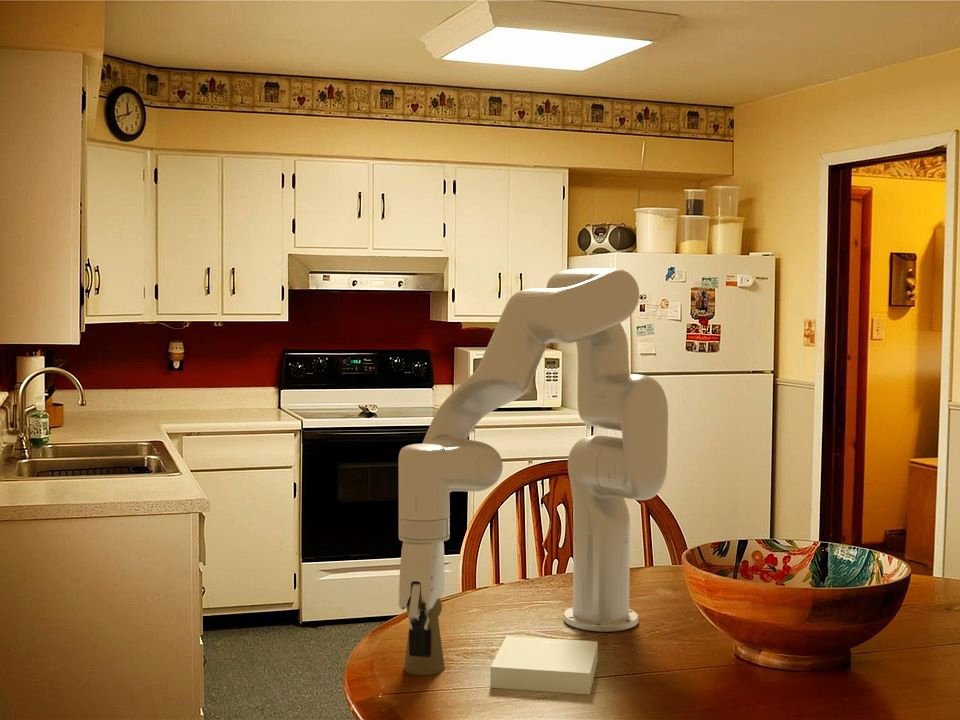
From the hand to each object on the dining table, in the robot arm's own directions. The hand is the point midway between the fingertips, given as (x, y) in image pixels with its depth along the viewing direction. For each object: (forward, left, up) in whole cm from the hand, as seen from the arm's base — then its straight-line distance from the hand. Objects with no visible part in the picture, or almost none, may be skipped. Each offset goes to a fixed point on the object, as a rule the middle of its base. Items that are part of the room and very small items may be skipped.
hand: (424, 649), depth 158 cm
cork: (0, 0, -3) cm, 3 cm away
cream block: (-1, +18, -3) cm, 18 cm away
